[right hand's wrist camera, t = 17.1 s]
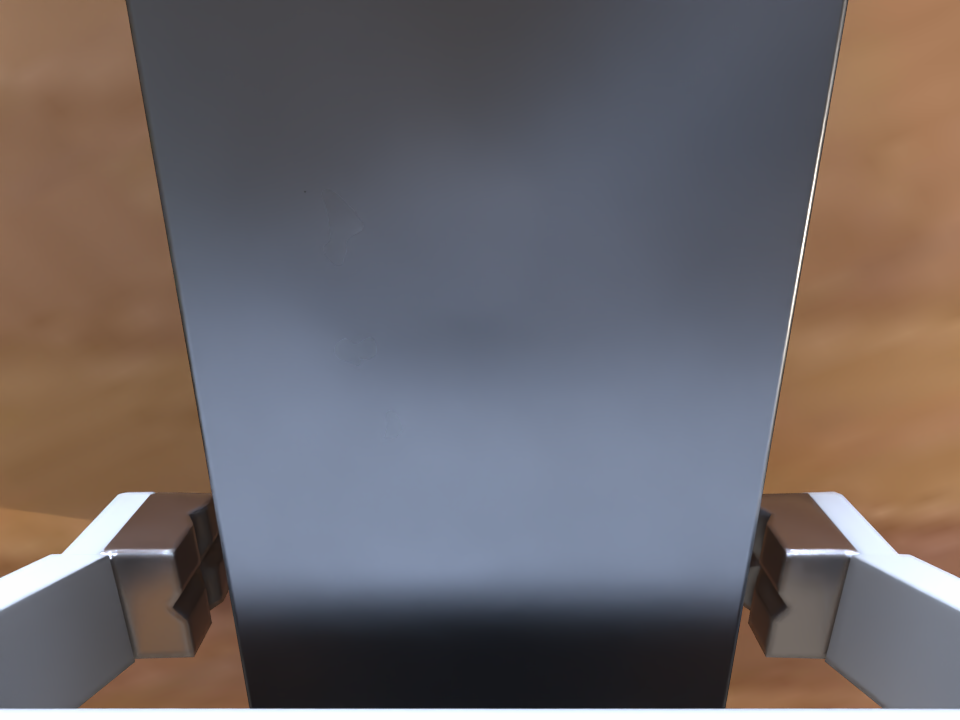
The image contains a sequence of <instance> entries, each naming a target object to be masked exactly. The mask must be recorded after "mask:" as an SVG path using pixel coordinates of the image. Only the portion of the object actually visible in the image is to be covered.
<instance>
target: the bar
mask: <svg viewBox="0 0 960 720" xmlns="http://www.w3.org/2000/svg"><path fill="white" fill-rule="evenodd" d="M126 5H127V11H128V17H129V22H130V28H131V34H132V40H133V45H134V51H135V57H136V62H137V68H138V74H139V80H140V85H141V91H142V97H143V102H144V108H145V114H146V119H147V125H148V131H149V137H150V142H151V148H152V154H153V159H154V165H155V171H156V177H157V182H158V188H159V194H160V199H161V205H162V211H163V216H164V222H165V228H166V234H167V239H168V245H169V251H170V256H171V262H172V268H173V274H174V279H175V285H176V291H177V296H178V302H179V308H180V313H181V319H182V325H183V331H184V336H185V342H186V348H187V353H188V359H189V365H190V371H191V376H192V382H193V388H194V393H195V399H196V405H197V410H198V416H199V422H200V428H201V433H202V439H203V445H204V450H205V456H206V462H207V468H208V473H209V479H210V485H211V490H212V496H213V502H214V507H215V513H216V519H217V525H218V530H219V536H220V542H221V547H222V553H223V559H224V565H225V570H226V576H227V582H228V587H229V593H230V599H231V605H232V610H233V616H234V622H235V627H236V633H237V639H238V644H239V650H240V656H241V662H242V667H243V673H244V679H245V684H246V690H247V696H248V702H249V707H250V709H725V707H726V701H727V695H728V689H729V684H730V678H731V672H732V666H733V661H734V655H735V649H736V643H737V638H738V632H739V626H740V620H741V615H742V609H743V603H744V597H745V592H746V586H747V580H748V574H749V569H750V563H751V557H752V551H753V546H754V540H755V534H756V528H757V523H758V517H759V511H760V505H761V500H762V494H763V488H764V482H765V477H766V471H767V465H768V459H769V454H770V448H771V442H772V436H773V430H774V425H775V419H776V413H777V407H778V402H779V396H780V390H781V384H782V379H783V373H784V367H785V361H786V356H787V350H788V344H789V338H790V333H791V327H792V321H793V315H794V310H795V304H796V298H797V292H798V287H799V281H800V275H801V269H802V264H803V258H804V252H805V246H806V241H807V235H808V229H809V223H810V218H811V212H812V206H813V200H814V194H815V189H816V183H817V177H818V171H819V166H820V160H821V154H822V148H823V143H824V137H825V131H826V125H827V120H828V114H829V108H830V102H831V97H832V91H833V85H834V79H835V74H836V68H837V62H838V56H839V51H840V45H841V39H842V33H843V28H844V22H845V16H846V10H847V5H848V0H126Z"/></svg>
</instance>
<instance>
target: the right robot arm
mask: <svg viewBox="0 0 960 720" xmlns="http://www.w3.org/2000/svg"><path fill="white" fill-rule="evenodd" d="M228 590H229V587H228V582H227V576H226V570H225V565H224V559H223V553H222V547H221V542H220V536H219V530H218V525H217V519H216V513H215V507H214V502H213V496H212V493H168V492H158V493H155V492H126V493H122V494H118V495H117V496H116V497H115V498H114V499H113V500H112V502H111V503H110V504H109V505H108V506H107V507H106V508H105V509H104V510H103V511H102V512H101V513H100V514H99V515H98V516H97V517H96V518H95V520H94V521H93V522H92V523H91V524H90V525H89V526H88V527H87V528H86V529H85V530H84V531H83V532H82V533H81V534H80V535H79V536H78V537H77V539H76V540H75V541H74V542H73V543H72V544H71V545H70V546H69V547H68V548H67V549H66V550H65V551H64V552H63V553H62V554H51V555H49V556H46V557H44V558H42V559H40V560H38V561H36V562H34V563H32V564H29V565H27V566H25V567H23V568H21V569H19V570H17V571H14V572H12V573H10V574H8V575H6V576H4V577H2V578H0V720H960V578H958V577H956V576H954V575H952V574H950V573H948V572H945V571H943V570H941V569H939V568H937V567H935V566H933V565H931V564H928V563H926V562H924V561H922V560H920V559H918V558H916V557H914V556H911V555H909V554H898V553H897V552H896V551H895V550H894V549H893V548H892V547H891V546H890V545H889V544H888V543H887V542H886V541H885V540H884V538H883V537H882V536H881V535H880V534H879V533H878V532H877V531H876V530H875V529H874V528H873V527H872V526H871V525H870V524H869V523H868V522H867V520H866V519H865V518H864V517H863V516H862V515H861V514H860V513H859V512H858V511H857V510H856V509H855V508H854V507H853V506H852V505H851V504H850V502H849V501H848V500H847V499H846V498H845V497H844V496H843V495H841V494H839V493H836V492H811V493H785V494H762V500H761V505H760V511H759V517H758V523H757V528H756V534H755V540H754V546H753V551H752V557H751V563H750V569H749V574H748V580H747V586H746V592H745V597H744V603H743V606H744V607H746V608H747V609H749V610H750V615H749V621H748V624H749V626H750V628H751V629H752V631H753V633H754V635H755V637H756V639H757V641H758V643H759V645H760V646H761V648H762V650H763V652H764V654H765V656H766V657H782V658H818V659H825V662H826V663H828V664H829V665H830V666H831V667H833V668H834V669H835V670H836V671H837V672H839V673H840V674H841V675H842V676H844V677H845V678H846V679H847V680H849V681H850V682H851V683H852V684H854V685H855V686H856V687H857V688H858V689H860V690H861V691H862V692H863V693H865V694H866V695H867V696H868V697H870V698H871V699H872V700H873V701H875V702H876V703H877V704H878V705H879V706H881V707H882V708H883V709H77V708H78V707H79V706H81V705H82V704H83V703H84V702H86V701H87V700H88V699H89V698H91V697H92V696H93V695H94V694H96V693H97V692H98V691H99V690H101V689H102V688H103V687H104V686H105V685H107V684H108V683H109V682H110V681H112V680H113V679H114V678H115V677H117V676H118V675H119V674H120V673H122V672H123V671H124V670H125V669H127V668H128V667H129V666H130V665H131V664H133V663H134V662H135V659H142V658H177V657H194V656H195V654H196V652H197V650H198V648H199V647H200V645H201V643H202V641H203V639H204V637H205V635H206V633H207V631H208V630H209V628H210V626H211V624H212V621H211V615H210V610H211V609H213V608H214V607H216V606H217V605H219V604H220V603H222V602H223V601H224V599H225V597H226V595H227V592H228Z"/></svg>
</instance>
